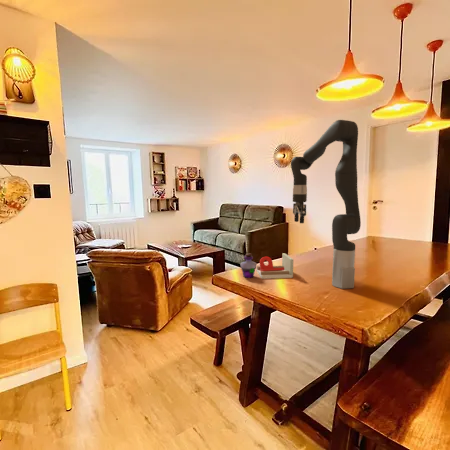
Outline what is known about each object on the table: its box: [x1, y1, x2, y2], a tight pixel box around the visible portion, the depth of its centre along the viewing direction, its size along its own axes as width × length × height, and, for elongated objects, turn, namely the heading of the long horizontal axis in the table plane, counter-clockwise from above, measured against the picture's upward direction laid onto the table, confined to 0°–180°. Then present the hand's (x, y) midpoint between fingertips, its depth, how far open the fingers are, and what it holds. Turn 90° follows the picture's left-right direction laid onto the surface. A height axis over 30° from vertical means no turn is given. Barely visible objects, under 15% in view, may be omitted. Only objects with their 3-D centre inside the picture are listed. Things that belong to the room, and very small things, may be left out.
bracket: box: [259, 255, 285, 271], centre depth 151 cm, size 12×4×8 cm, turn 102°
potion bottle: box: [240, 252, 258, 279], centre depth 147 cm, size 9×9×12 cm
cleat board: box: [255, 252, 294, 280], centre depth 151 cm, size 14×16×10 cm
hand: (299, 222), depth 161 cm, fingers open, 8 cm apart
